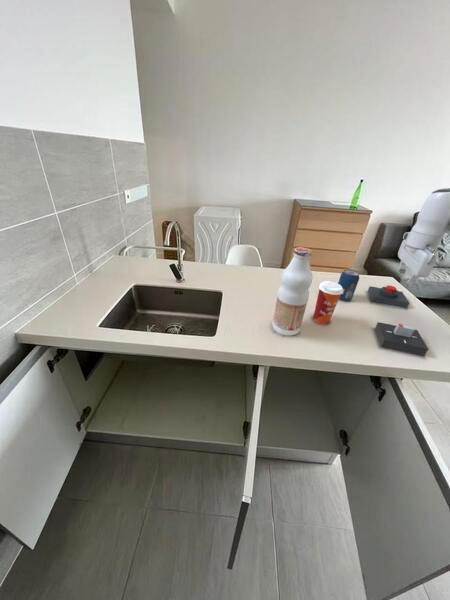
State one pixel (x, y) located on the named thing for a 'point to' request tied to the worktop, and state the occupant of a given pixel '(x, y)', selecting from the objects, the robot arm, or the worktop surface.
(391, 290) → the power button
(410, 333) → the timer knob
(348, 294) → the soda can
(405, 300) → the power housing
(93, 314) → the worktop surface
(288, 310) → the fruit juice
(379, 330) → the timer panel
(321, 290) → the paper cup
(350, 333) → the worktop surface
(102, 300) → the worktop surface
